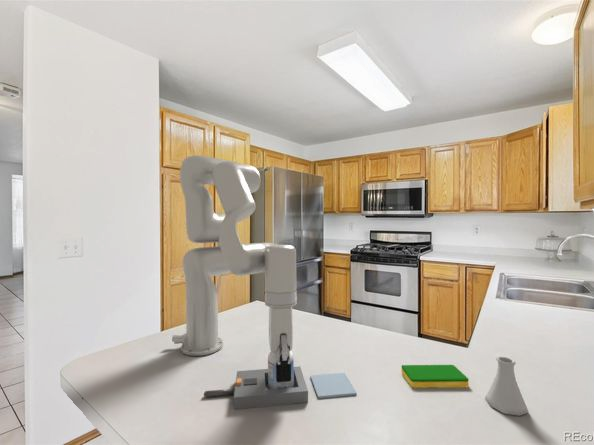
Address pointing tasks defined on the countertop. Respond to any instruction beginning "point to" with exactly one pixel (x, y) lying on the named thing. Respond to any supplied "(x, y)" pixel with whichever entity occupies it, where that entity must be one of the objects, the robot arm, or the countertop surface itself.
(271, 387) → the pill bottle
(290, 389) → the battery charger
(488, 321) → the countertop surface
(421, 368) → the dish sponge
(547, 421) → the countertop surface
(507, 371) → the flask
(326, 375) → the slate mat
